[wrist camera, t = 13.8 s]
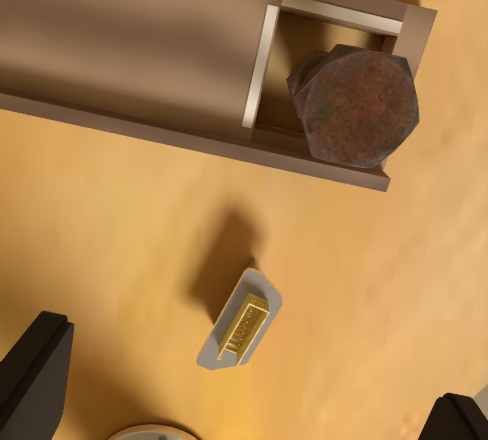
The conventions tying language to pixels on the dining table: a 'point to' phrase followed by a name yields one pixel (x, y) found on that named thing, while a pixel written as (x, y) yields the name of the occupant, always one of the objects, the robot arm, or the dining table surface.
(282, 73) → the dining table surface
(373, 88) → the bolt
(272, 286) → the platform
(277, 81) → the dining table surface
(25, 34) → the brown wooden long tray
